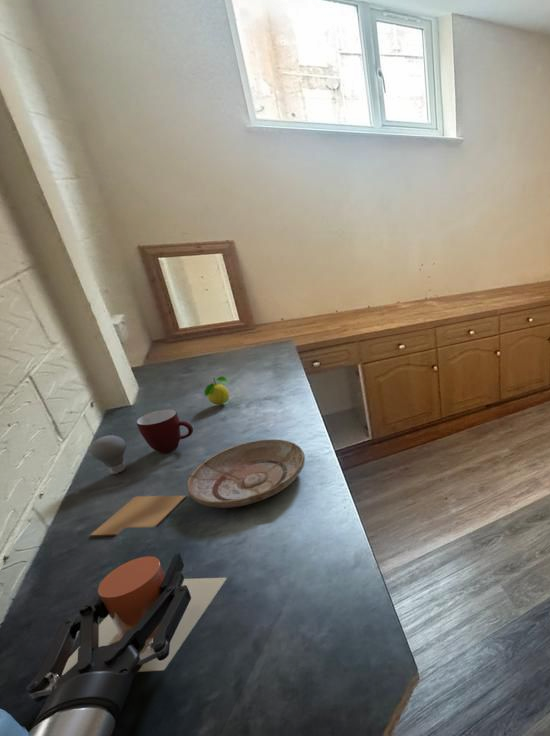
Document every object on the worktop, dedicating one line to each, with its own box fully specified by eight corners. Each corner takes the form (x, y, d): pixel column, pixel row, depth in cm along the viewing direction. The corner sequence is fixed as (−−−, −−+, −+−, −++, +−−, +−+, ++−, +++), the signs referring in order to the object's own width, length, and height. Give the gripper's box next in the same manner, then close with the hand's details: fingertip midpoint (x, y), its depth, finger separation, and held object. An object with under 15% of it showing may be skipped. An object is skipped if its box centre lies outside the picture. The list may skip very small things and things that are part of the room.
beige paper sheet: (55, 679, 56) (52, 675, 56) (140, 583, 70) (139, 580, 70) (165, 673, 57) (164, 670, 57) (228, 580, 71) (227, 577, 71)
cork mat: (90, 536, 79) (89, 534, 79) (135, 498, 90) (135, 496, 89) (148, 535, 80) (147, 533, 80) (186, 497, 90) (186, 495, 90)
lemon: (232, 398, 134) (225, 371, 130) (234, 405, 129) (227, 377, 126) (207, 404, 130) (199, 376, 126) (209, 411, 125) (201, 382, 122)
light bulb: (110, 466, 99) (96, 432, 96) (139, 462, 101) (126, 429, 98) (95, 481, 94) (79, 446, 91) (126, 477, 96) (112, 442, 92)
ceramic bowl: (196, 538, 80) (189, 518, 78) (190, 477, 96) (184, 460, 95) (318, 489, 94) (315, 472, 92) (294, 443, 110) (291, 428, 109)
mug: (199, 435, 113) (190, 404, 109) (195, 450, 107) (185, 417, 103) (152, 445, 108) (140, 413, 104) (144, 461, 102) (132, 428, 98)
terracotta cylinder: (107, 644, 60) (83, 598, 56) (144, 600, 67) (125, 556, 63) (156, 642, 60) (135, 596, 57) (188, 599, 67) (171, 555, 63)
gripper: (-33, 790, 44) (78, 605, 63) (188, 706, 51) (227, 564, 71) (-68, 752, 41) (60, 571, 60) (171, 669, 48) (216, 532, 68)
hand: (150, 567), depth 65 cm, fingers closed on terracotta cylinder, 7 cm apart
